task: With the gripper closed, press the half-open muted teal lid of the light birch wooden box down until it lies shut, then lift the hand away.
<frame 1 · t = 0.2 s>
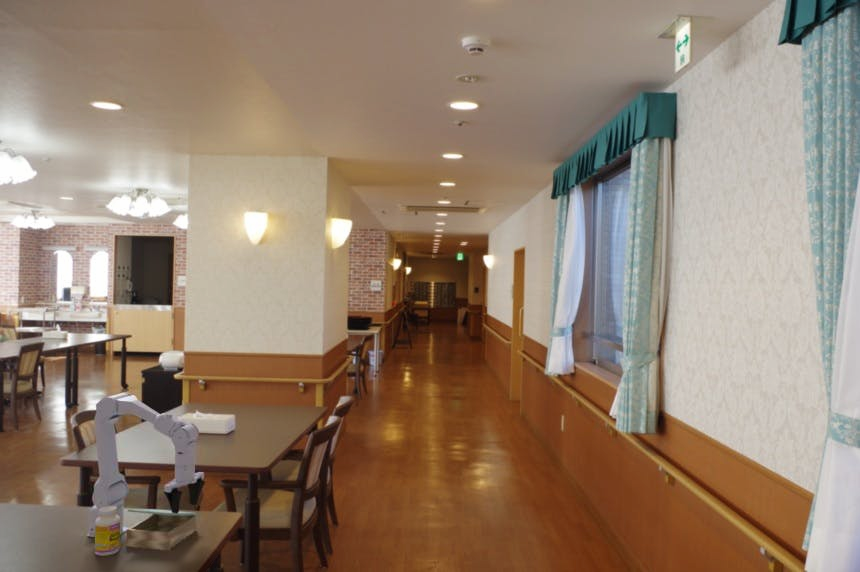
hand: (184, 508, 196), 10 cm above the table, tool pointing down, fingers open, 7 cm apart
lid: (163, 512, 198), point 8 cm above the table, hinge at 19.9°
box: (162, 538, 198), on the table
supplement bottle: (107, 552, 188), on the table
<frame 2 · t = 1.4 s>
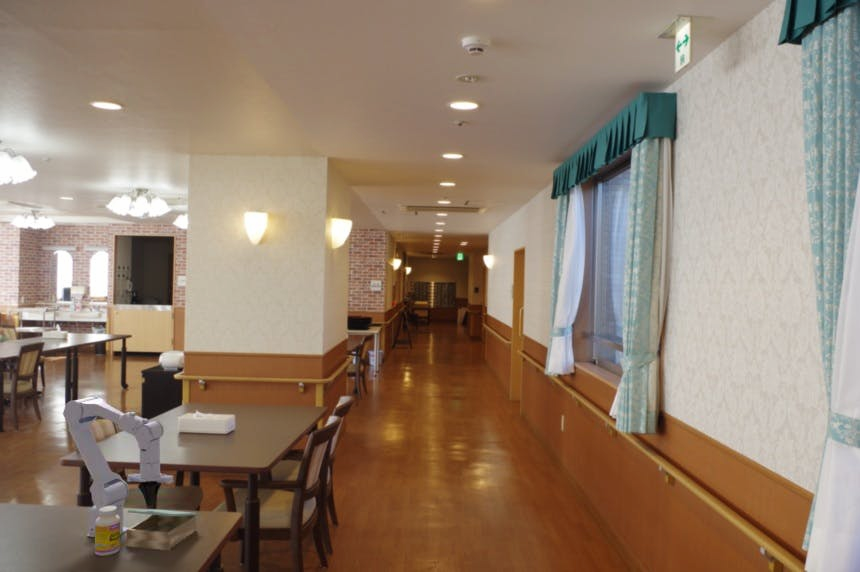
hand: (150, 505, 198), 10 cm above the table, tool pointing down, fingers closed
lid: (163, 512, 198), point 8 cm above the table, hinge at 19.1°
everything else where it was.
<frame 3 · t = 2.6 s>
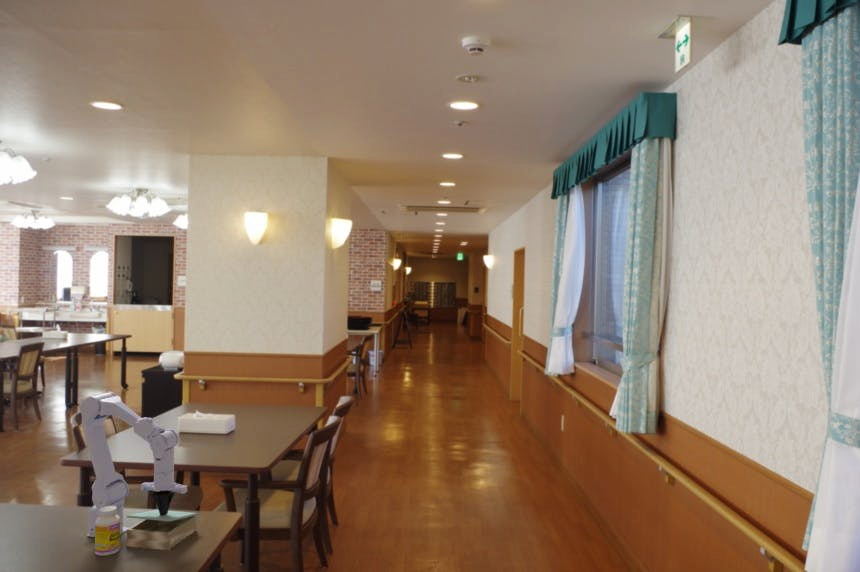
hand: (163, 514, 197), 8 cm above the table, tool pointing down, fingers closed, pressing on lid
lid: (162, 515, 198), point 7 cm above the table, hinge at 13.6°, touching gripper
everything else where it was.
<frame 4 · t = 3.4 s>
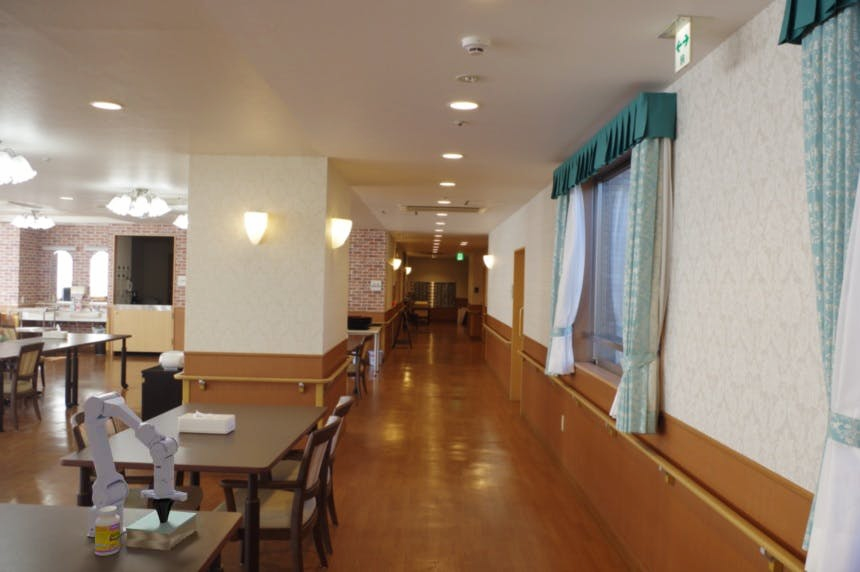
hand: (163, 522, 197), 6 cm above the table, tool pointing down, fingers closed, pressing on lid
lid: (162, 521, 198), point 5 cm above the table, hinge at -0.1°, touching gripper
everything else where it was.
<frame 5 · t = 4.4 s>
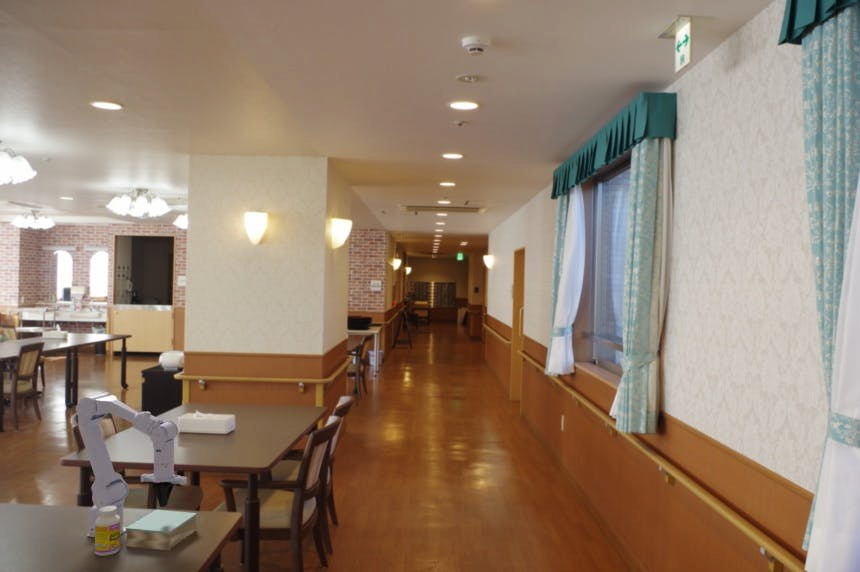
hand: (163, 505, 197), 10 cm above the table, tool pointing down, fingers closed
lid: (162, 521, 198), point 5 cm above the table, hinge at -0.1°
everything else where it was.
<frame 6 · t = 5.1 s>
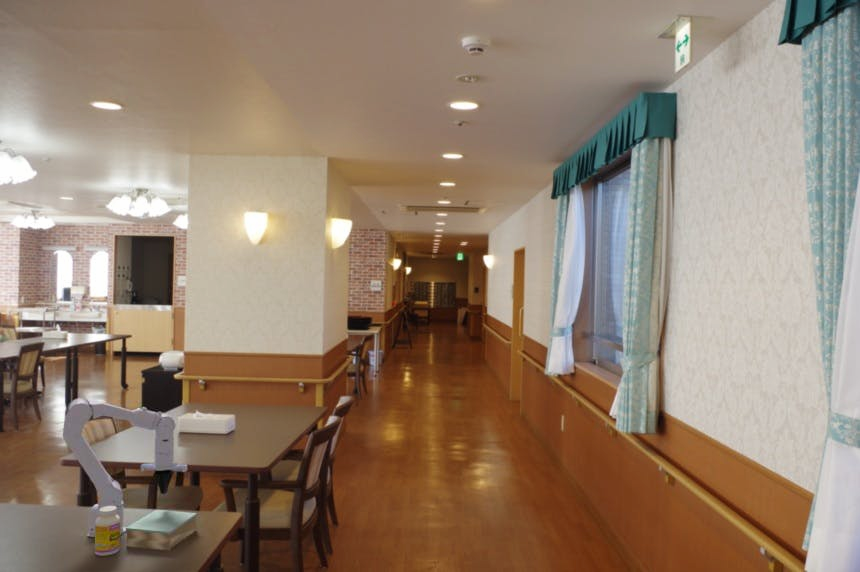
hand: (163, 492, 209), 10 cm above the table, tool pointing down, fingers closed
nothing on the table moved.
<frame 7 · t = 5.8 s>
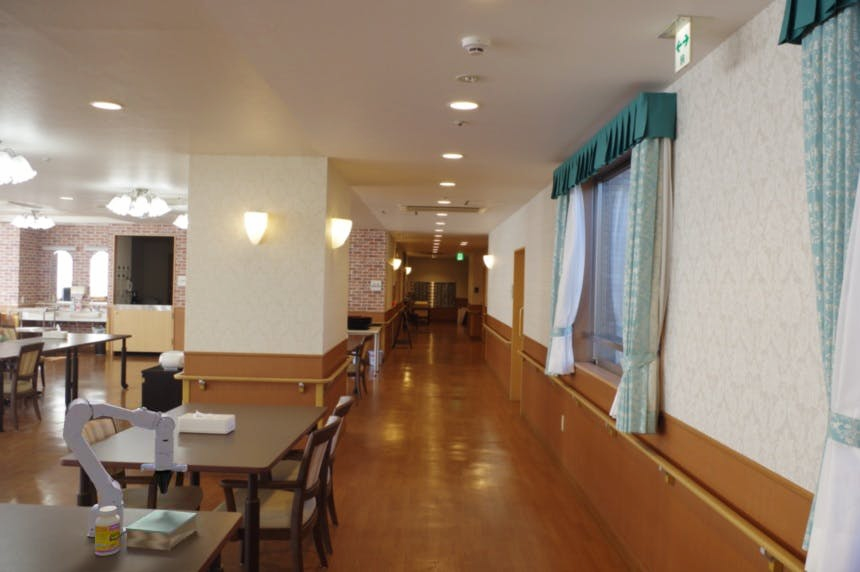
hand: (163, 492, 209), 10 cm above the table, tool pointing down, fingers closed
nothing on the table moved.
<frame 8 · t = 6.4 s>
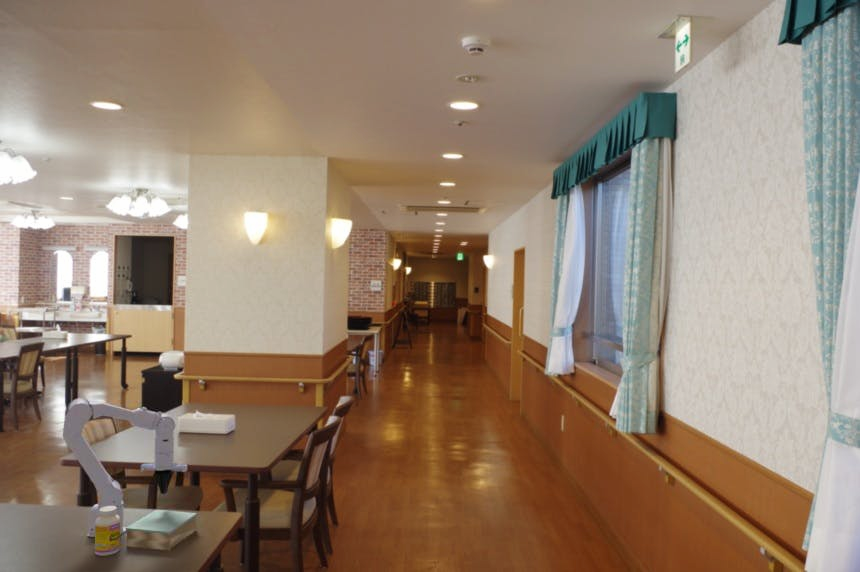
hand: (163, 492, 209), 10 cm above the table, tool pointing down, fingers closed
nothing on the table moved.
at the end: lid at +0° (first picture: +20°); supplement bottle moved 0.2 cm from its start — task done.
